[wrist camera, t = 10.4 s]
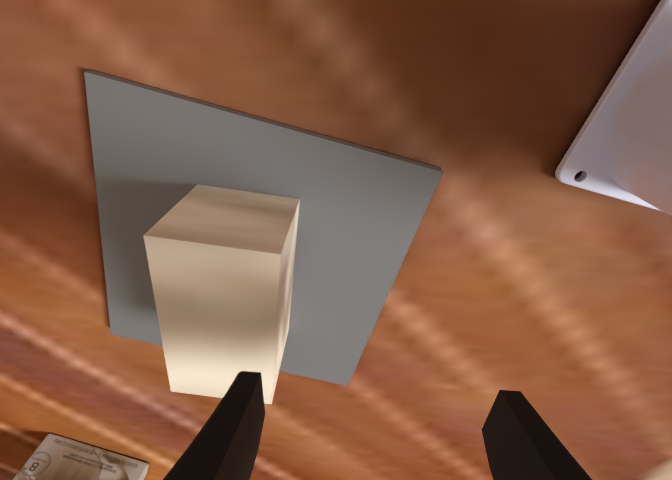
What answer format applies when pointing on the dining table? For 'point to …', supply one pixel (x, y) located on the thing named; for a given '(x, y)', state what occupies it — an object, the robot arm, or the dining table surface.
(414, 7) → the dining table surface
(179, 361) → the pale wooden block
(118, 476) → the coffee box
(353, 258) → the rubber mat
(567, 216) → the dining table surface
